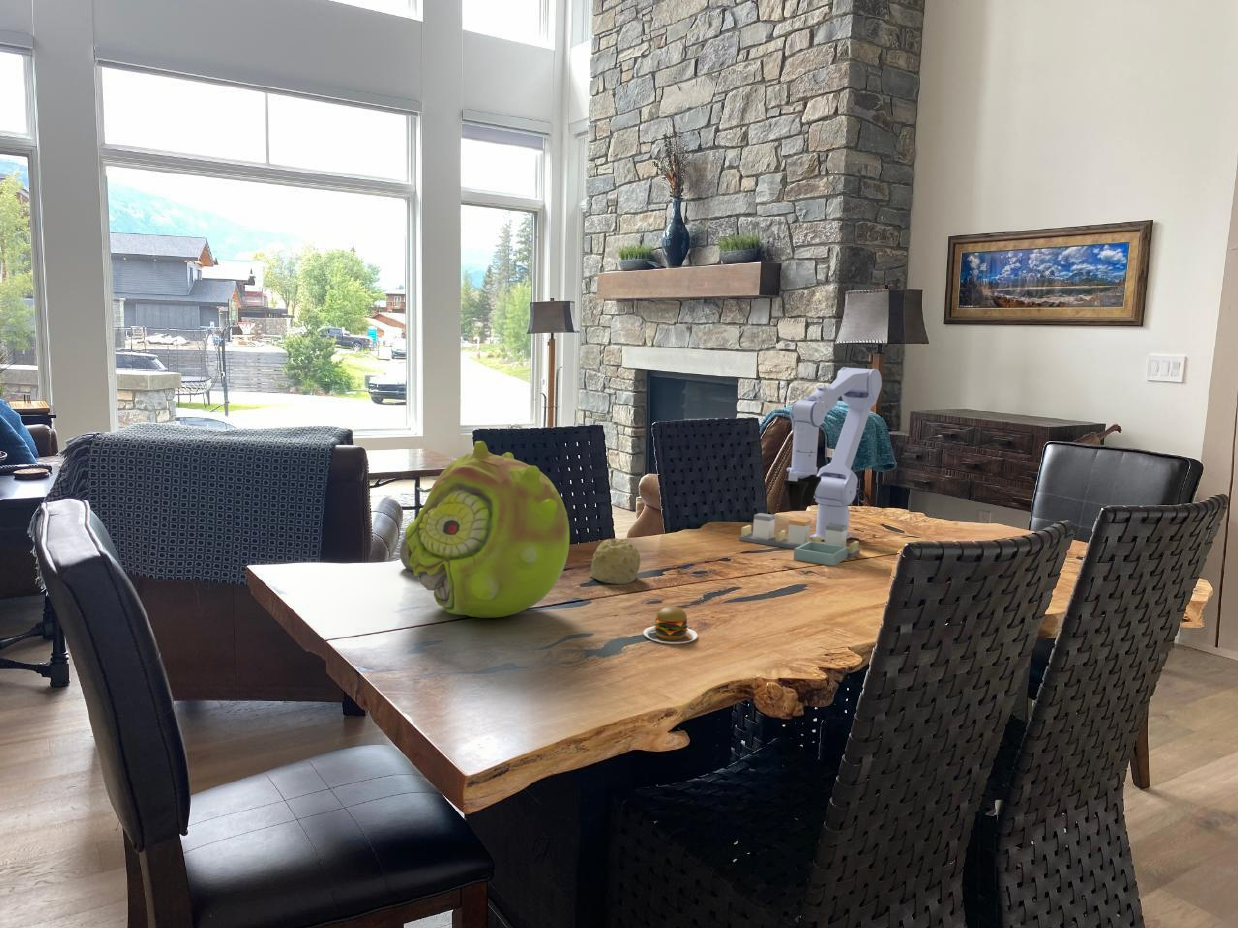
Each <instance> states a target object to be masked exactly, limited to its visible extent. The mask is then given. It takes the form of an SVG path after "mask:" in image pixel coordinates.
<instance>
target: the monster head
mask: <svg viewBox="0 0 1238 928" xmlns="http://www.w3.org/2000/svg"><path fill="white" fill-rule="evenodd" d="M568 517H569V516H568V512H567V509H566V507H565V504H564V502H563V499H562V498H561V496H560V493H559V492H558V490H557V488H556V486H555V484H554V483H553V482H552V481H551V480H550V479H549V477H548V476H547V475H545V474H544V473H543V472H542V471H541V470H540V469H539V467H538V466H536V465H530V464H528V463H526V462H524V461H521V460H517V459H515V457H514V454H513V453H512V452H509V451H508V452H507V451H506V452H505V453H502V455H497V454H493V453H491V452H489V449H488V445H487V444H486V442H485V441H484V440H478V441H474V445H473V452H472V453H466V454H464V455H462V456H460V457H458V458H457V459H455V460H453V461H452V462H451V463H450V464H448V466H447V467H445V469H443V470H442V471H441V473H440V474H439V476H438V478H436V480H435V481H434V483H433V484H432V487H431V488H430V491H429V494H428V496H427V499H426V501H425V503H424V504H423V507H422V508H421V509H420V510H419V511H418V514H417V517H416V518H415V519H414V520H413V521H412V522H411V523H410V524H409V525H408V526H407V527H406V528H405V530H404V531H405V534H404V536H405V535H406V539H405V540H406V541H407V545H406V555H407V558H408V562H409V564H410V565H411V566H412V567H413V571H412V572H413V577H414V578H415V577H417V581H418V582H419V583H420V585H422V586H423V587H424V588H425V589H426V590H427V591H433V596H434V600H435V602H436V603H437V605H438V606H440V607H442V608H443V609H444V610H445V611H446V612H447V613H449V614H451V615H459V616H460V615H461V616H468V617H473V618H482V619H483V618H484V619H486V618H487V619H488V618H489V619H490V618H502V617H507V616H508V617H509V616H512V615H515V614H518V613H520V612H523V611H527V610H528V609H529V608H531V607H533V606H535V605H536V604H537V603H539V602H540V601H542V600H543V599H544V598H545V597H546V596H547V595H548V594H549V593H550V592H551V591H552V590H553V588H555V585H556V584H557V583H558V581H559V580H560V578H561V576H562V574H563V571H564V568H565V566H566V563H567V559H568V556H569V550H570V549H569V548H570V539H571V538H570V535H571V534H570V523H569V518H568Z"/></svg>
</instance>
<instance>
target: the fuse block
mask: <svg viewBox="0 0 1238 928" xmlns="http://www.w3.org/2000/svg"><path fill="white" fill-rule="evenodd" d="M752 527H753V526H752V524H751V525H750V524H748V525H745V526H742V527H741V531H740V534H741V535H739V536H738V541H741V542H746V543H754V544H761V545H764V546H766V545H767V546H770V547H771V546H773V547H778V548H785V549H789V550H791V549H792V550H794V549H795V548H797V547H799V546H801V545H799V544H793V543H788V537H786V533H787V530H783V529H782V530H780V531H777V532H776V533H775V535H774V537H773V538H771V539H768V540H767V539H761V538H755V537H753V532H752ZM821 539H822V536H819V535H818V536H816V537H814V538H811V540H812V541H811V542H818V543H822V540H821ZM859 544H860V543H859V541H857V540H854V541H853V542H851V543H850V544H849V546H847V547H848V556H847V558H846V559H853V558H854V557H856V556H858V555H859V554H860V553H861V549H860V548H859Z"/></svg>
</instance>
